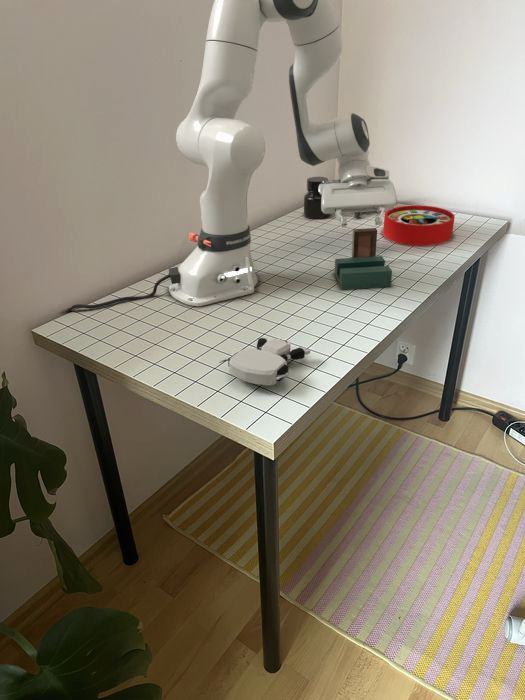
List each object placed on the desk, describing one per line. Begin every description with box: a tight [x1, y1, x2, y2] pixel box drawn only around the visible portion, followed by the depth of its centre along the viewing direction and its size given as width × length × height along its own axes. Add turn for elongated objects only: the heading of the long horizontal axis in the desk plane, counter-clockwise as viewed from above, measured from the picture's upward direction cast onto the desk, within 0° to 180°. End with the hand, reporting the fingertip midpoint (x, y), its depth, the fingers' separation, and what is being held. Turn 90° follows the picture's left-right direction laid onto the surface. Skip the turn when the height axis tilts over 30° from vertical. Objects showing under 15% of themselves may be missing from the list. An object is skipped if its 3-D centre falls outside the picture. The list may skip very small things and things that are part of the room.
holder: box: [334, 255, 393, 291], centre depth 137 cm, size 10×12×4 cm
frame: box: [351, 227, 378, 258], centre depth 146 cm, size 2×6×9 cm, turn 94°
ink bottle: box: [303, 176, 331, 220], centre depth 182 cm, size 10×9×12 cm
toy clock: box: [382, 204, 455, 247], centre depth 164 cm, size 20×6×20 cm
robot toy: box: [218, 337, 311, 386], centre depth 103 cm, size 12×4×15 cm
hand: (361, 225), depth 147 cm, fingers open, 8 cm apart
